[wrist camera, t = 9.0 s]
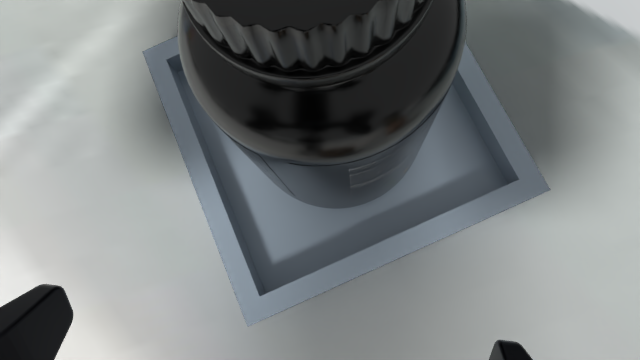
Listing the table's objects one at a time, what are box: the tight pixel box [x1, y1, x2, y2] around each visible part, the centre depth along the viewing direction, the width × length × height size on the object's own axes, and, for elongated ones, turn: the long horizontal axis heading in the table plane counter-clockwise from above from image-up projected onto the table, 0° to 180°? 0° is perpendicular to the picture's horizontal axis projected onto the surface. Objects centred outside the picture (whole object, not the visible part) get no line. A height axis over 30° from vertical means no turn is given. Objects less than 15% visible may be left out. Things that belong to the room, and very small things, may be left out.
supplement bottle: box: [178, 0, 467, 209], centre depth 13 cm, size 7×7×12 cm
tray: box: [143, 36, 550, 326], centre depth 18 cm, size 12×12×2 cm
